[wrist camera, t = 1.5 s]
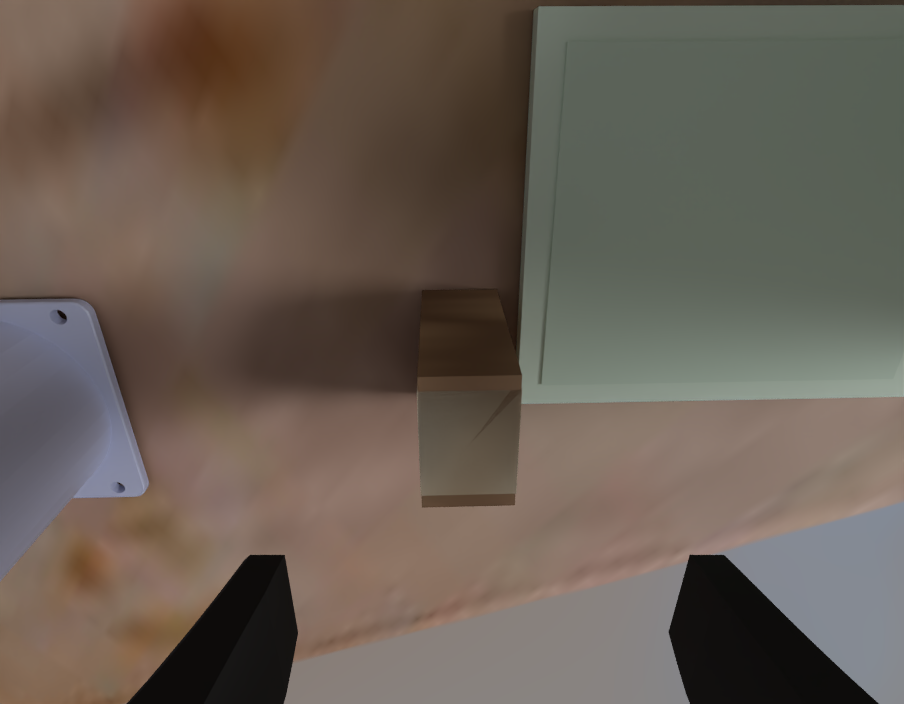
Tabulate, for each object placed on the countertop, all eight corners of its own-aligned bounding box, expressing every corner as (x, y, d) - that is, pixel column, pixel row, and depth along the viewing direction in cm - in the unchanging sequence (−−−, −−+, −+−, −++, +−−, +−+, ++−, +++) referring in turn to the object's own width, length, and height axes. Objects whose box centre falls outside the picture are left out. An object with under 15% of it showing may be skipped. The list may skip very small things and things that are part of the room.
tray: (514, 392, 20) (517, 405, 20) (533, 9, 15) (539, 6, 14) (888, 385, 21) (907, 398, 20) (1039, 7, 15) (1072, 4, 14)
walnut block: (424, 393, 20) (421, 507, 15) (421, 290, 19) (416, 377, 13) (493, 392, 20) (515, 505, 15) (497, 289, 19) (522, 375, 13)
